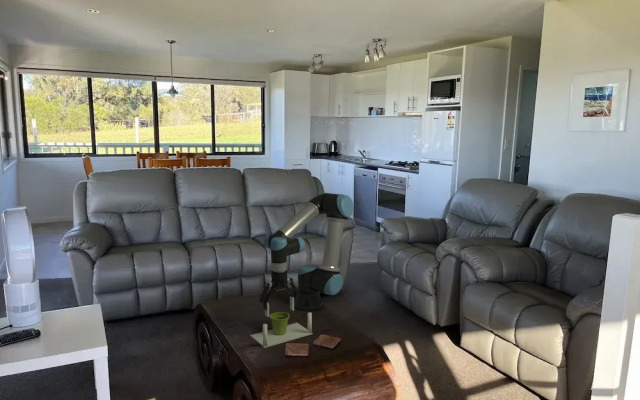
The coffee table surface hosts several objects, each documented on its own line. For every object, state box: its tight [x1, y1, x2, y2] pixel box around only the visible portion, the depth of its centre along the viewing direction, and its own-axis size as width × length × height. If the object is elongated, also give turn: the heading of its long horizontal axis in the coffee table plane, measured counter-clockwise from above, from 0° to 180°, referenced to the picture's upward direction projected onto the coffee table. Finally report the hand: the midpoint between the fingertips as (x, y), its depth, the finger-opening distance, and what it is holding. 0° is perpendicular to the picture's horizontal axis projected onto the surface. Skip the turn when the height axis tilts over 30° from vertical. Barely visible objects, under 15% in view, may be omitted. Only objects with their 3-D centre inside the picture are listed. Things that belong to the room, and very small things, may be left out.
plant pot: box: [269, 311, 290, 335], centre depth 220 cm, size 9×9×9 cm
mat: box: [249, 311, 313, 349], centre depth 218 cm, size 26×15×10 cm, turn 124°
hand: (279, 312), depth 219 cm, fingers open, 13 cm apart
